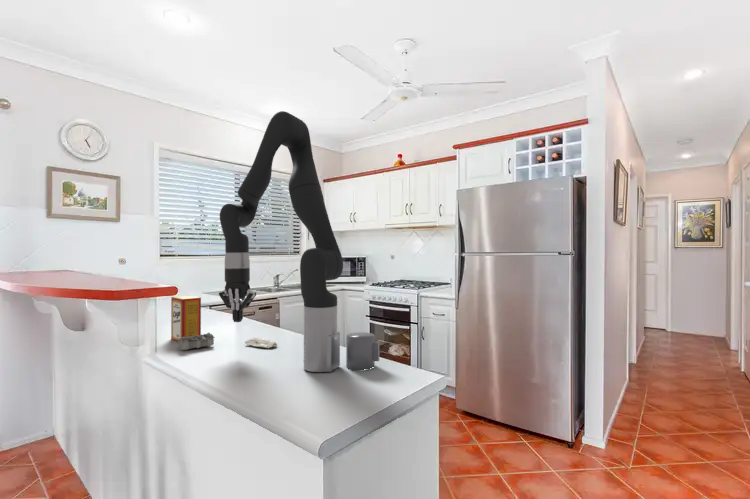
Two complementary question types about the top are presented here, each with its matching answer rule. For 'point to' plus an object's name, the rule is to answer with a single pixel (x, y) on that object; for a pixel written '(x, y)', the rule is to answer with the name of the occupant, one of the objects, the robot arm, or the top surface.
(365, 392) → the top surface
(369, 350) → the charcoal mug
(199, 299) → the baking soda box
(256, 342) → the pale elongated rock
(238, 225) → the robot arm
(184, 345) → the egg carton
